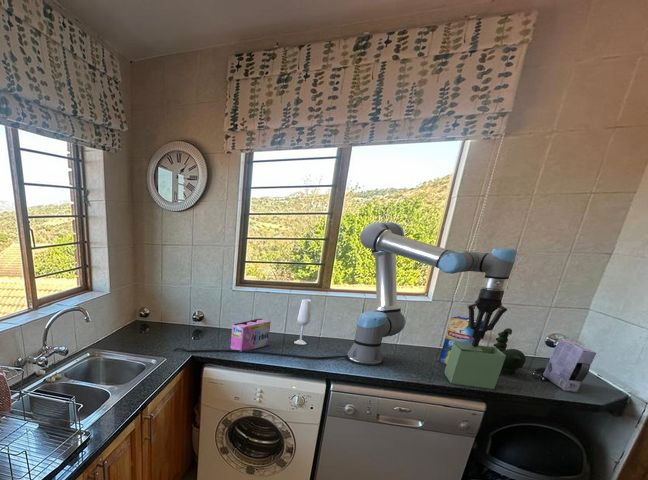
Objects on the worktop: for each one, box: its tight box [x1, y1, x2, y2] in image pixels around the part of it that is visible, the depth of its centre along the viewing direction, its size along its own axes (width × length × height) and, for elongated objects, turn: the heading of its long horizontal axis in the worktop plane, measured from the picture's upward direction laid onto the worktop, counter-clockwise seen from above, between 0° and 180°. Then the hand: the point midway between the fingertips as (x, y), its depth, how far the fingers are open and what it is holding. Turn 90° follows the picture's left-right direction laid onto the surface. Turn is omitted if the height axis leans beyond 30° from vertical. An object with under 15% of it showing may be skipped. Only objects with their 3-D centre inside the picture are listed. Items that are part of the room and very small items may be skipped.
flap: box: [454, 341, 483, 352], centre depth 169 cm, size 7×13×1 cm, turn 156°
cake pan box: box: [542, 338, 597, 393], centre depth 167 cm, size 19×5×18 cm, turn 158°
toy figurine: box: [492, 327, 527, 375], centre depth 184 cm, size 9×19×25 cm
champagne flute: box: [293, 298, 312, 345], centre depth 220 cm, size 7×7×24 cm
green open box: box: [443, 343, 506, 390], centre depth 171 cm, size 15×13×14 cm
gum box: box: [229, 317, 271, 353], centre depth 214 cm, size 24×8×14 cm, turn 127°
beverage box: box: [438, 315, 484, 365], centre depth 190 cm, size 7×11×22 cm, turn 28°
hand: (474, 345), depth 168 cm, fingers closed
